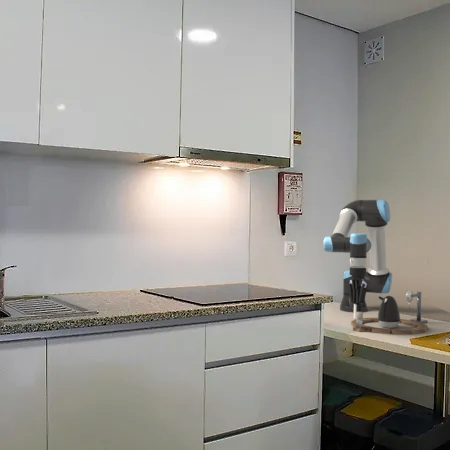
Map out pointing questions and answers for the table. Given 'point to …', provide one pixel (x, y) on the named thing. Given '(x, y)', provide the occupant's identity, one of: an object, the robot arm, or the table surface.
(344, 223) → the robot arm
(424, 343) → the table surface
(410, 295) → the dial indicator stand
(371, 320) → the turntable ring
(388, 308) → the pump dispenser
